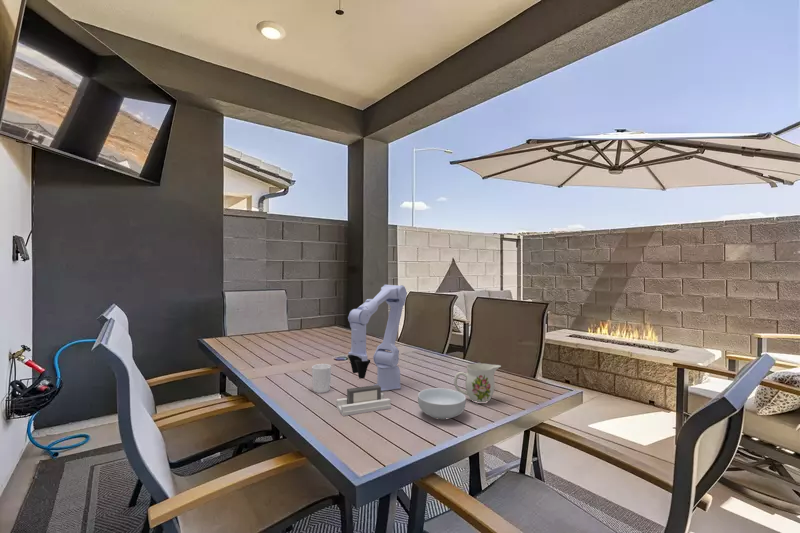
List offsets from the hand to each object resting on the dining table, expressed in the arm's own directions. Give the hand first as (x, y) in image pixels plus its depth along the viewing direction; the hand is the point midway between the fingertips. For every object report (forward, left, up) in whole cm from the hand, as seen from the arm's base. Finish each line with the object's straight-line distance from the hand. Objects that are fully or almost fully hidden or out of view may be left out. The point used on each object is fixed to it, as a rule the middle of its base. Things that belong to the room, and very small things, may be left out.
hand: (358, 375), depth 146 cm
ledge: (+1, +8, -10) cm, 13 cm away
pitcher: (-42, +18, -10) cm, 47 cm away
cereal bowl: (-22, +25, -10) cm, 35 cm away
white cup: (+11, -17, -10) cm, 22 cm away
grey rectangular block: (+1, +8, -8) cm, 12 cm away
